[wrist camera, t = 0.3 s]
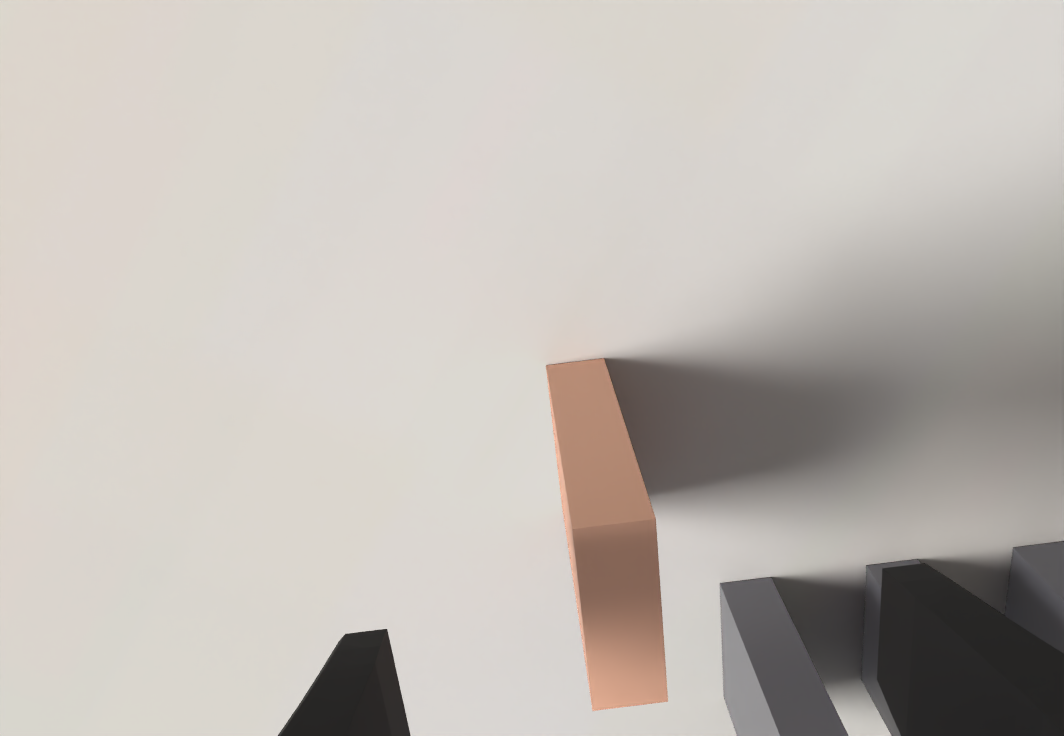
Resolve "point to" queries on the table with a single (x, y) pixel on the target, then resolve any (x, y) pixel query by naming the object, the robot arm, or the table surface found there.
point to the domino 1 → (608, 539)
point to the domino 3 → (876, 639)
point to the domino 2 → (770, 667)
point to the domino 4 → (1038, 591)
